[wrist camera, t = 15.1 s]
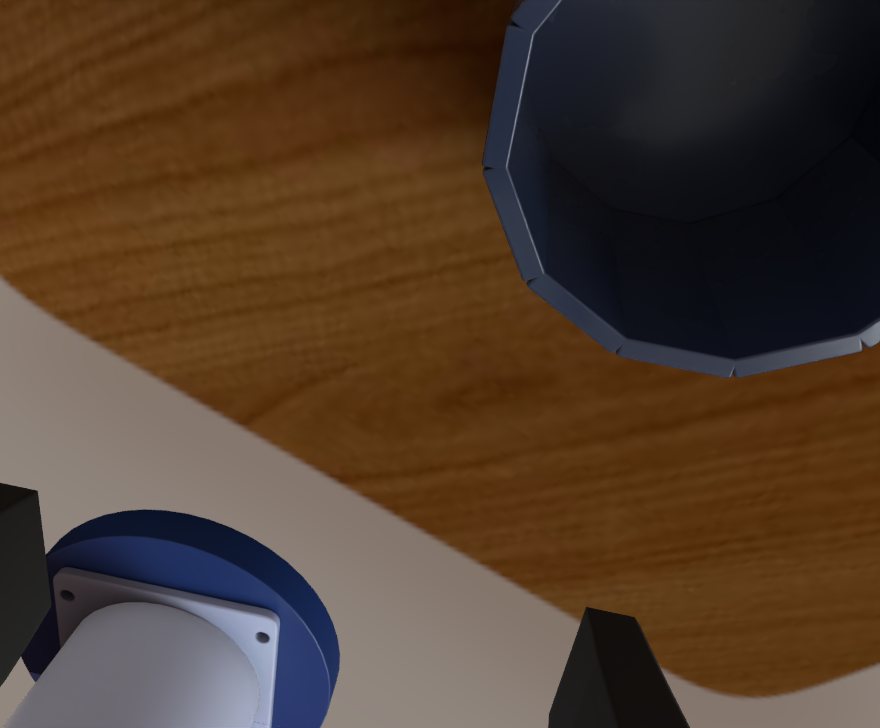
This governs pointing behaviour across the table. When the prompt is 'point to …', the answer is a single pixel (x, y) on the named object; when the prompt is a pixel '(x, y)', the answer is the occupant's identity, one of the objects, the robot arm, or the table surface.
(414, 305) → the table surface
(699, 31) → the pot
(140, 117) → the table surface
